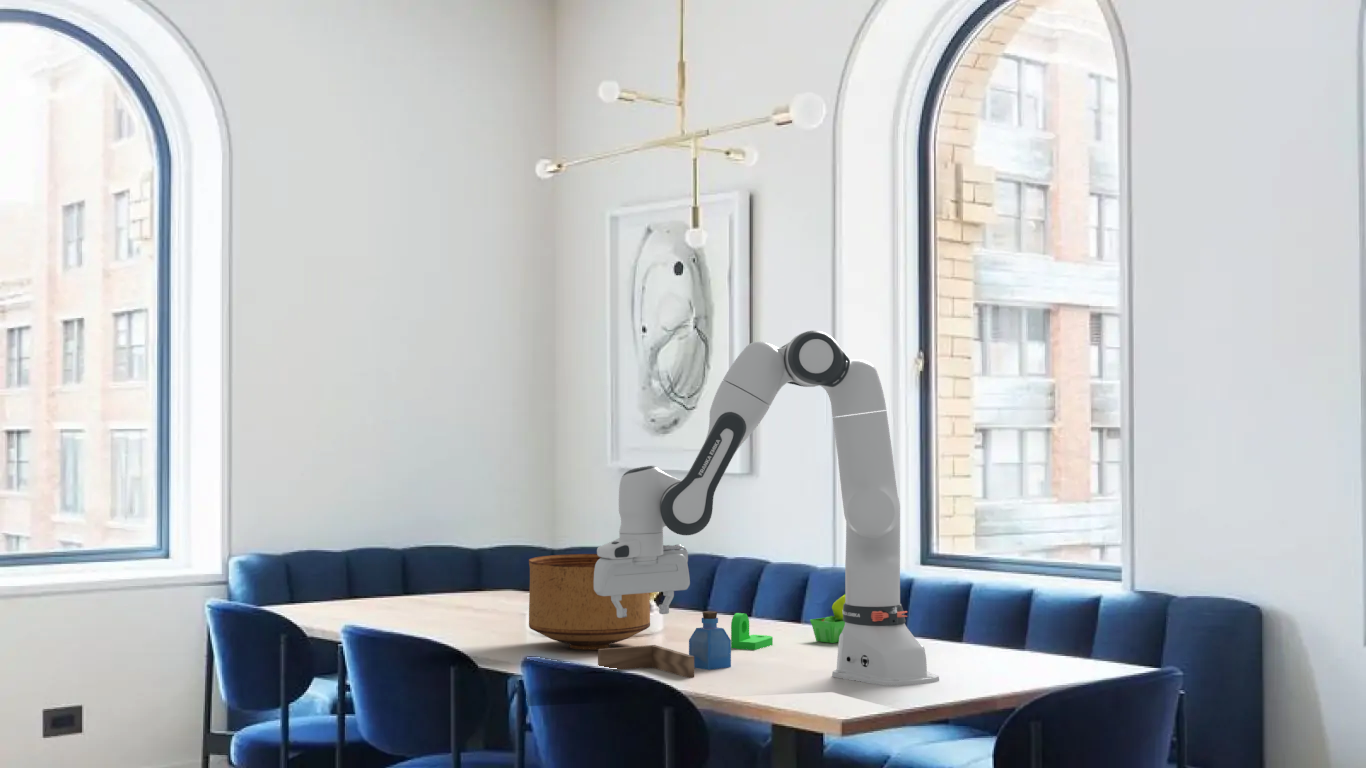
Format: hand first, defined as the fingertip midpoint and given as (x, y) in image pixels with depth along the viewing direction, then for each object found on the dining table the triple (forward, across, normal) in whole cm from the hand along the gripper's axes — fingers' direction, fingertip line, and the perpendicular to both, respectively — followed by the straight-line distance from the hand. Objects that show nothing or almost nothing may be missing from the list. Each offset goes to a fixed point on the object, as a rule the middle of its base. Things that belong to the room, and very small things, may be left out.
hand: (643, 615), depth 337 cm
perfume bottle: (+13, -17, -4) cm, 22 cm away
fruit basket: (+14, -64, -28) cm, 71 cm away
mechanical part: (+14, -42, -29) cm, 53 cm away
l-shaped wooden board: (+13, -1, -1) cm, 13 cm away
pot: (+13, -8, -45) cm, 48 cm away
